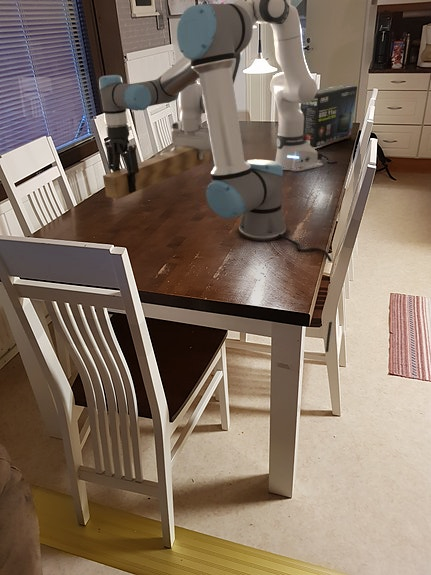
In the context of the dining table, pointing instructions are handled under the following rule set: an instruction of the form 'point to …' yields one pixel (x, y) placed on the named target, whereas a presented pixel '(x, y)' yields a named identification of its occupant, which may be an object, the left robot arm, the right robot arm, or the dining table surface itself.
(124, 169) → the post
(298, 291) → the dining table surface
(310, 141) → the router box
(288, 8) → the right robot arm
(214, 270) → the dining table surface
